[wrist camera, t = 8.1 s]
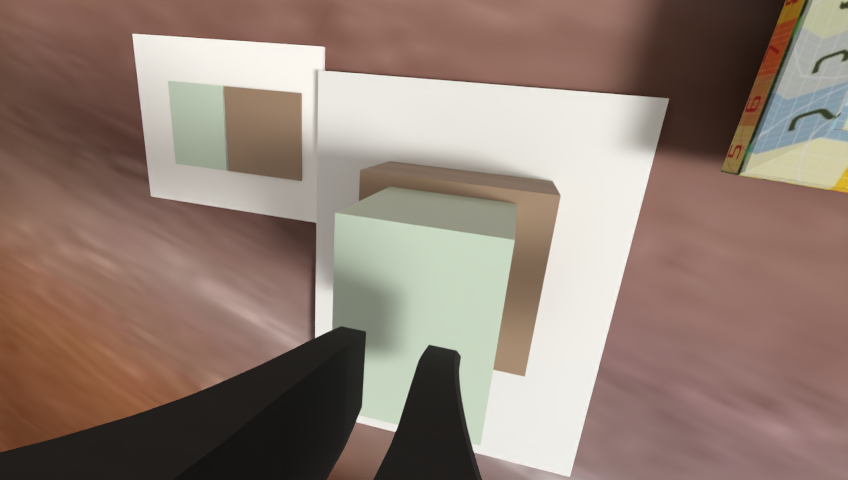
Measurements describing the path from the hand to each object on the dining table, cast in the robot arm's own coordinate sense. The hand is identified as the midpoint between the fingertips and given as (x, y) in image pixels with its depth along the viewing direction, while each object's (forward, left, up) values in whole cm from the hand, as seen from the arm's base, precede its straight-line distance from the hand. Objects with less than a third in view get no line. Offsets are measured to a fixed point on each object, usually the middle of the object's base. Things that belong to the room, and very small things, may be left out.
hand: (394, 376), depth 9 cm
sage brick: (0, 0, -6) cm, 6 cm away
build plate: (-2, 0, -10) cm, 11 cm away
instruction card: (+4, +12, -10) cm, 16 cm away
